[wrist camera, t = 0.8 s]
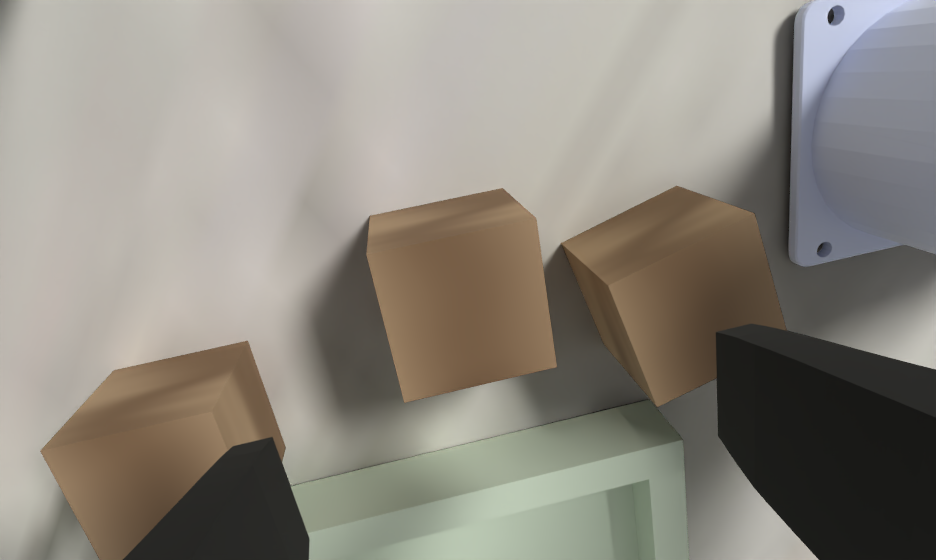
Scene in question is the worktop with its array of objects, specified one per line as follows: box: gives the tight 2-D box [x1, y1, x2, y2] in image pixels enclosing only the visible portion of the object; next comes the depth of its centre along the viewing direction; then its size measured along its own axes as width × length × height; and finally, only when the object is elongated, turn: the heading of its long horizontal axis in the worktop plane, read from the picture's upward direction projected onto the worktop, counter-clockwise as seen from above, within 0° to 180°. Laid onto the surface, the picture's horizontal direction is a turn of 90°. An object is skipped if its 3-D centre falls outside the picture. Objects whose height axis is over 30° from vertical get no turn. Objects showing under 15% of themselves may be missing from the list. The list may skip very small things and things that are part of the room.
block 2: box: [366, 188, 557, 403], centre depth 16 cm, size 4×4×4 cm
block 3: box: [561, 186, 787, 407], centre depth 16 cm, size 4×4×4 cm
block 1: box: [41, 341, 286, 560], centre depth 16 cm, size 4×4×4 cm
